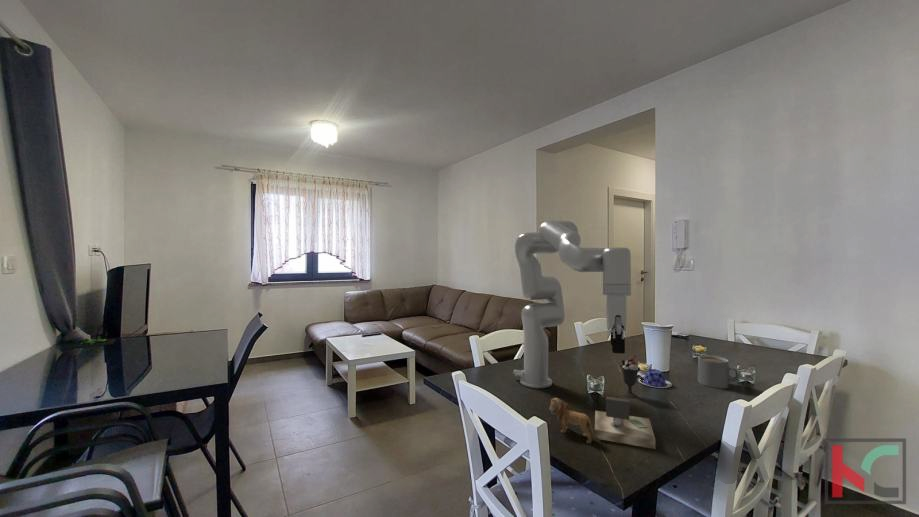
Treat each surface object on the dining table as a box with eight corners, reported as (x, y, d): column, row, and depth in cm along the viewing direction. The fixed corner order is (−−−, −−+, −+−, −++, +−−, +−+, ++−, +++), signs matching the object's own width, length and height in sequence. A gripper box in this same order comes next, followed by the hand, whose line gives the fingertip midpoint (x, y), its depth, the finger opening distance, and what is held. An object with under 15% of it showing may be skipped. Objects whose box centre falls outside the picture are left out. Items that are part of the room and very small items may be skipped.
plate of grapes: (640, 387, 140) (640, 374, 140) (635, 377, 151) (635, 365, 151) (675, 391, 136) (675, 377, 136) (668, 380, 147) (668, 367, 147)
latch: (629, 427, 101) (629, 402, 101) (606, 424, 103) (606, 399, 103) (627, 415, 109) (627, 391, 109) (605, 412, 111) (605, 388, 111)
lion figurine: (546, 429, 106) (546, 399, 105) (554, 423, 110) (554, 393, 110) (597, 447, 96) (597, 413, 96) (603, 439, 100) (603, 407, 100)
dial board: (594, 438, 100) (594, 428, 100) (595, 418, 113) (595, 409, 113) (655, 449, 95) (655, 438, 95) (649, 427, 107) (649, 417, 107)
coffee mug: (694, 383, 143) (694, 358, 143) (702, 377, 150) (702, 353, 150) (735, 393, 133) (735, 366, 133) (742, 386, 140) (742, 361, 139)
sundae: (642, 399, 127) (642, 357, 127) (622, 398, 129) (622, 356, 128) (637, 392, 134) (637, 352, 134) (618, 391, 135) (618, 351, 135)
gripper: (602, 287, 114) (603, 341, 114) (603, 292, 98) (604, 355, 98) (628, 288, 111) (629, 343, 111) (634, 292, 95) (634, 357, 95)
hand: (617, 348), depth 105 cm, fingers open, 9 cm apart
